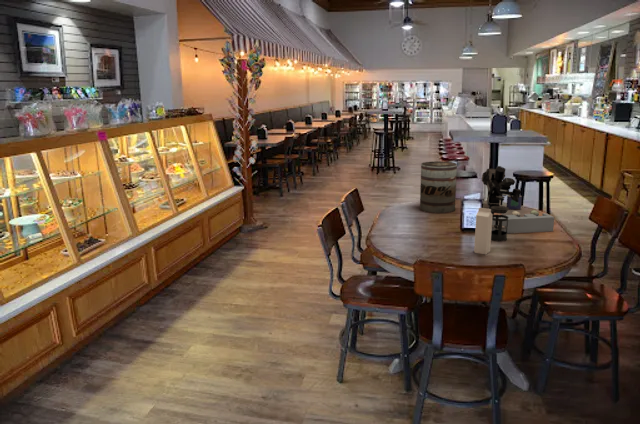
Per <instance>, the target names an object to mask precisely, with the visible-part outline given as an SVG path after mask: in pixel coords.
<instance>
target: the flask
mask: <svg viewBox="0 0 640 424" xmlns="http://www.w3.org/2000/svg"><path fill="white" fill-rule="evenodd" d="M522 199H523V196H522V195H520V196H519V198H518V200H519V201H518V202H516V201H514V200H512V198H511V196H507V195H506V207H508V208H509V209H508V211H520V210H522Z"/></svg>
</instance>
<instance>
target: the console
mask: <svg viewBox="0 0 640 424" xmlns="http://www.w3.org/2000/svg"><path fill="white" fill-rule="evenodd" d="M505 216H507V217H508V227H507V235H508V234H528V233H545V232H547V233H548V232H554V228H555V227H554V226H555V217H554V216H553V215H550V214H548V213H545V212H544V213H541V215H539V216H536V215H533V214H530V213H526V214H523V216H520V217H517V216H515V215H512V214H505ZM492 218H496V217H492ZM499 219H506V218H502V217H501V218H499ZM492 225H495V221H493V220H492ZM502 225H503V226H507V221H502ZM492 230H494V229H492ZM502 231H505V232H506V229H505V230H502Z"/></svg>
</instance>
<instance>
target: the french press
mask: <svg viewBox="0 0 640 424" xmlns="http://www.w3.org/2000/svg"><path fill="white" fill-rule="evenodd" d="M496 197H497V198H499V200H500V202H501V198H504V199H505V197H506V196H496ZM491 209H492V210H491V212H493V213H499V215H493V216H492V217H496V218H492V220H493V221H495V225H492V229H494V230H492V231H491V241H494V242H505V241H507V240H508V234H507V227H508V217H507V216H505V215H506V213H507V212H508V211H509V210H508V209H509V208H508V207H507V206H504V205H502V206H501V205H500V206H492V207H491ZM500 214H502V215H500ZM503 214H505V215H503ZM499 217H501V218H506V219H499ZM502 221H507V226H503V225H502ZM505 229H506V232H505V231H502V230H505Z"/></svg>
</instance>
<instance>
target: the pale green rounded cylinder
mask: <svg viewBox="0 0 640 424" xmlns="http://www.w3.org/2000/svg"><path fill="white" fill-rule="evenodd" d="M529 214H533V215H536V216H540V212H539V211H537V210H535V209H534V210H533V209H532V210H531V211H530V213H529Z"/></svg>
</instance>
